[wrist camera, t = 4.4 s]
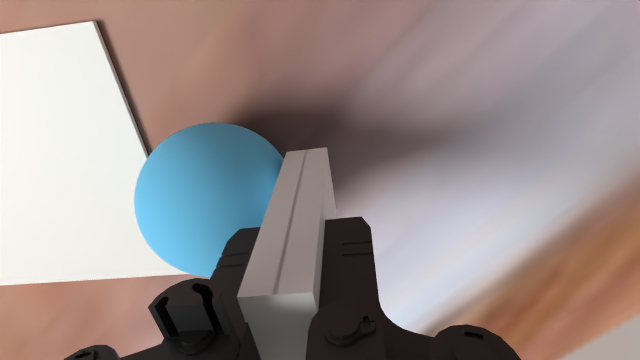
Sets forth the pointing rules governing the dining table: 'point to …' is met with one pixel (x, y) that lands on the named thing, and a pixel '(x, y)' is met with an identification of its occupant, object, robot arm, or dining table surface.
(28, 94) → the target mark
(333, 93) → the dining table surface
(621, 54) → the dining table surface
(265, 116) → the dining table surface
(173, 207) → the ball
